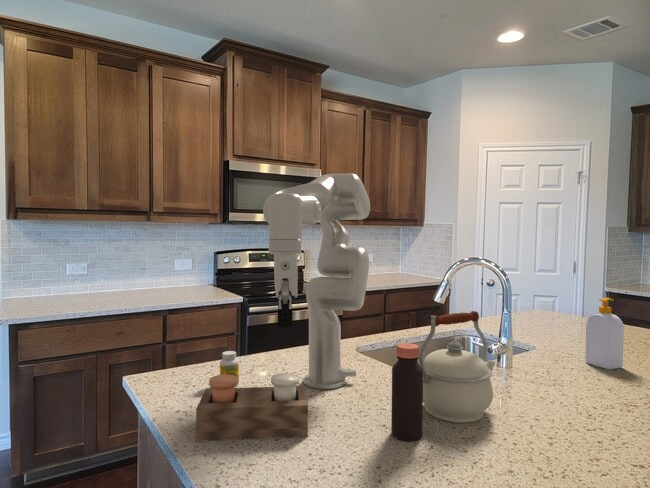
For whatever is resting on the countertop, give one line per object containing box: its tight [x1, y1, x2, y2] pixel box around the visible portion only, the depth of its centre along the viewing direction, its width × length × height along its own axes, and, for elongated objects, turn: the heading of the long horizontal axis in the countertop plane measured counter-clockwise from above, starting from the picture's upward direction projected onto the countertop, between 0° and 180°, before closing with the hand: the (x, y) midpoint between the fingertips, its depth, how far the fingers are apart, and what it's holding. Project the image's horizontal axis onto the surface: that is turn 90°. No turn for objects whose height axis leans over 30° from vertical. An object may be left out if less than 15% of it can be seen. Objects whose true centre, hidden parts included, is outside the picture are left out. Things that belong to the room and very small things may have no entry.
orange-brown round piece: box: [208, 374, 239, 403], centre depth 100 cm, size 6×6×6 cm
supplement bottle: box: [219, 350, 240, 388], centre depth 128 cm, size 5×5×10 cm
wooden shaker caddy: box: [195, 385, 309, 442], centre depth 101 cm, size 24×12×7 cm, turn 96°
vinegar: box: [390, 342, 424, 442], centre depth 97 cm, size 7×7×20 cm
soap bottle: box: [584, 297, 625, 371], centre depth 149 cm, size 9×7×23 cm
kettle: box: [418, 310, 496, 424], centre depth 110 cm, size 25×18×25 cm
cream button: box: [270, 372, 300, 401], centre depth 101 cm, size 6×6×6 cm
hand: (284, 322), depth 101 cm, fingers open, 7 cm apart
